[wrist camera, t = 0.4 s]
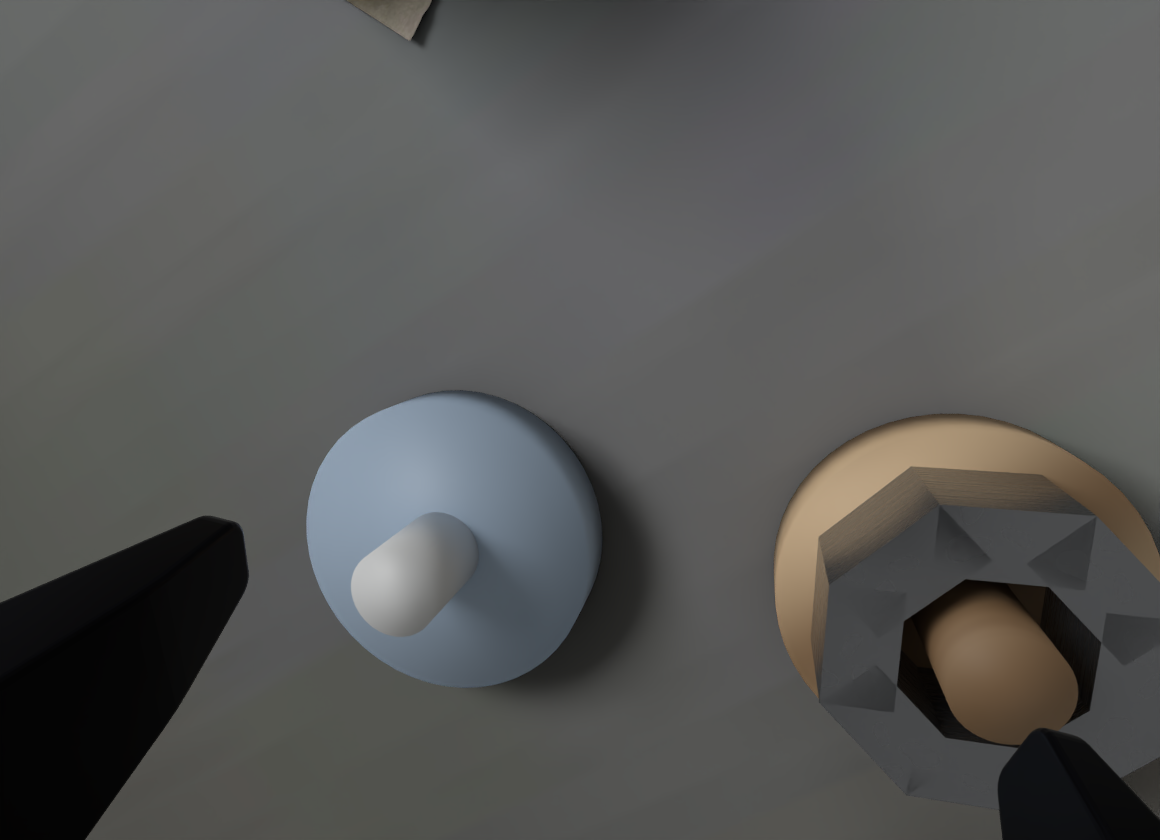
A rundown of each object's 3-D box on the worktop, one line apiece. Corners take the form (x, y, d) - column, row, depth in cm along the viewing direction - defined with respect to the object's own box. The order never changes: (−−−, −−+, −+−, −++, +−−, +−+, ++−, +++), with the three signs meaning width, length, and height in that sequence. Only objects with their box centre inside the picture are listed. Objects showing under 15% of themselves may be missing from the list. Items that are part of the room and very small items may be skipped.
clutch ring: (1185, 626, 17) (1269, 697, 14) (937, 773, 20) (968, 860, 17) (982, 412, 17) (1026, 441, 15) (758, 582, 20) (758, 637, 17)
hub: (662, 545, 22) (636, 623, 17) (472, 702, 25) (404, 806, 20) (460, 329, 22) (379, 348, 17) (293, 510, 25) (184, 569, 20)
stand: (1205, 595, 19) (1398, 739, 13) (916, 770, 22) (972, 950, 16) (966, 344, 19) (1055, 379, 13) (709, 549, 22) (692, 651, 16)
